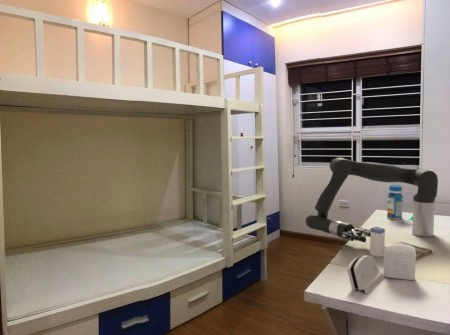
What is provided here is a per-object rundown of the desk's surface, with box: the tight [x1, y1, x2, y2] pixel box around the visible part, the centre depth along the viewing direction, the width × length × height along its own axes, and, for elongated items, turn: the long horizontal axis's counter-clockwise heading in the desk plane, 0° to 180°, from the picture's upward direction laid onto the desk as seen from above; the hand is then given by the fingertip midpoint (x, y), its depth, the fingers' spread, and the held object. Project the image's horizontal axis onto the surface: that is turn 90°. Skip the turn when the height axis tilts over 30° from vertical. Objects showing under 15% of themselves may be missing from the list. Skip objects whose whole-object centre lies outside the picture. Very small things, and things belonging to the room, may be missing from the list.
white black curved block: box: [346, 255, 385, 295], centre depth 114 cm, size 17×5×10 cm, turn 136°
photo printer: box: [382, 243, 417, 281], centre depth 117 cm, size 10×4×12 cm, turn 73°
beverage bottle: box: [386, 184, 404, 220], centre depth 199 cm, size 8×8×20 cm
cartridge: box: [369, 226, 386, 258], centre depth 140 cm, size 4×4×12 cm
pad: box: [384, 241, 433, 260], centre depth 143 cm, size 14×14×1 cm
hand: (371, 238), depth 142 cm, fingers open, 8 cm apart
